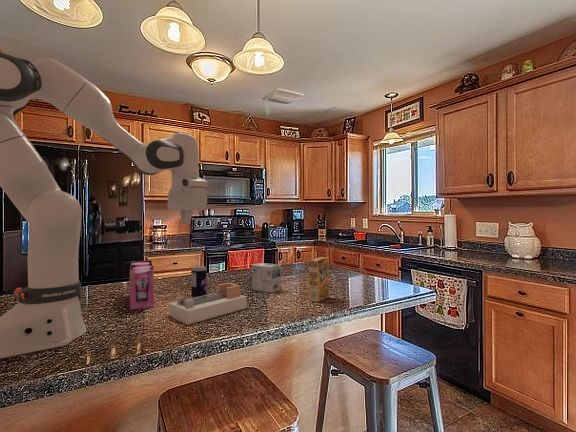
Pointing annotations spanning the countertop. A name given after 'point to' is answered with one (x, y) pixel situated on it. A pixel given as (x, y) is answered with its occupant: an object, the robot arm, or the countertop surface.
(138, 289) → the gum box
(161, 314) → the countertop surface
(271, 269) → the light bulb box
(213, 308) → the hinged pedal on base
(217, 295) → the dark grey flat bar
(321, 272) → the candy box
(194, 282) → the beverage can
